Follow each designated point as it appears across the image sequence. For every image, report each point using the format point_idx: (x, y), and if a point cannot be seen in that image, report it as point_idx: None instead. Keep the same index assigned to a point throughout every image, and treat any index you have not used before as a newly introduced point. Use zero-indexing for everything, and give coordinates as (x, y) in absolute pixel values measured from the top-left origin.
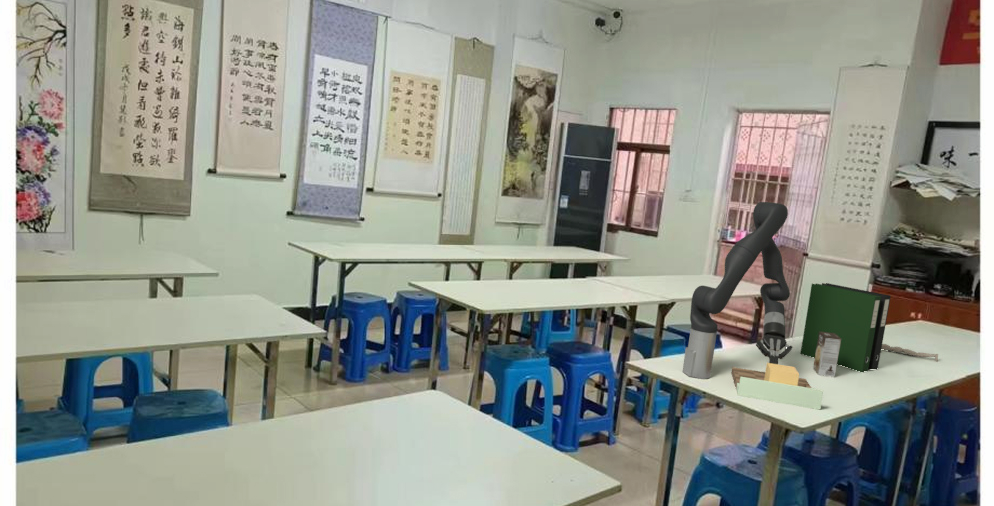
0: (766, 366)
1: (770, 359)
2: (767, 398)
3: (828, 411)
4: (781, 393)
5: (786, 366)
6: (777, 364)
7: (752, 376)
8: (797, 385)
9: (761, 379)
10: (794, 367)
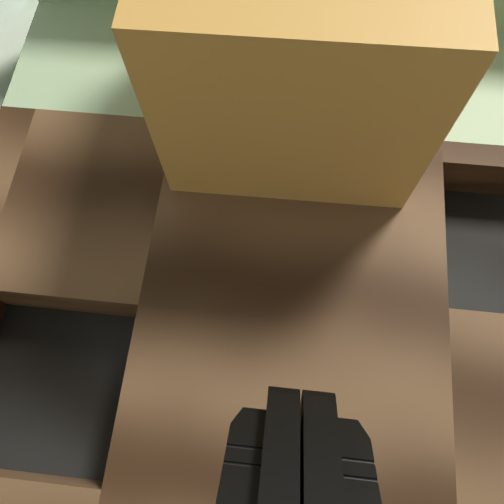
0: (474, 77)
1: (371, 491)
2: None
3: (19, 24)
4: None
5: (229, 1)
6: (345, 36)
7: (491, 461)
8: (4, 473)
9: (399, 384)
10: (118, 9)
